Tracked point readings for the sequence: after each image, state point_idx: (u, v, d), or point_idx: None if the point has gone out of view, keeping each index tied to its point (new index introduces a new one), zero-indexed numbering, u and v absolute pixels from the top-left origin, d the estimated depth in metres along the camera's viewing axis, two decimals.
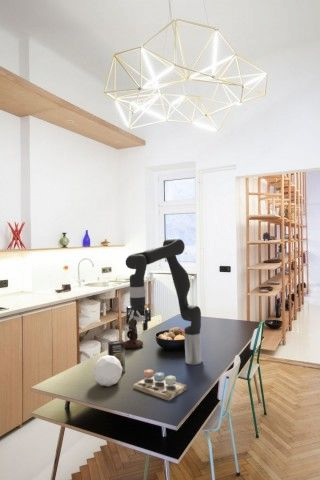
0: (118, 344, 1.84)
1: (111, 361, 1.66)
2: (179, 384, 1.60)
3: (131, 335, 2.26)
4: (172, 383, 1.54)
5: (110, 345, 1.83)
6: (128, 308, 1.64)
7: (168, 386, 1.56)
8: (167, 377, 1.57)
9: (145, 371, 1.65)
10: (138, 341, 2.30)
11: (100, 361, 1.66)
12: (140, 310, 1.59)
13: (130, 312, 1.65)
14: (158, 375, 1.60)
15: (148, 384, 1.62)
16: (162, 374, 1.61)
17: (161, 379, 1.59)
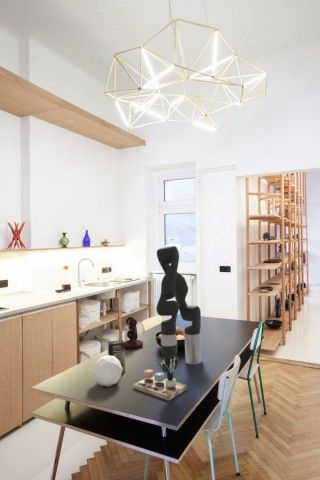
0: (118, 344, 1.84)
1: (111, 361, 1.66)
2: (179, 384, 1.60)
3: (131, 335, 2.26)
4: (172, 385, 1.54)
5: (110, 345, 1.83)
6: (164, 364, 1.52)
7: None
8: (167, 379, 1.57)
9: (145, 371, 1.65)
10: (138, 341, 2.30)
11: (100, 361, 1.66)
12: (174, 358, 1.58)
13: None
14: (158, 375, 1.60)
15: (148, 384, 1.62)
16: (162, 374, 1.61)
17: (161, 379, 1.59)
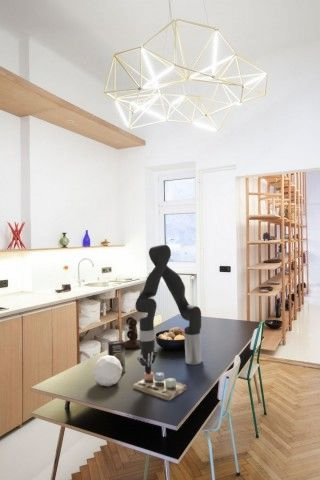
0: (118, 344, 1.84)
1: (111, 361, 1.66)
2: (179, 384, 1.60)
3: (131, 335, 2.26)
4: (172, 385, 1.54)
5: (110, 345, 1.83)
6: (141, 358, 1.61)
7: None
8: (167, 379, 1.57)
9: (145, 373, 1.65)
10: (138, 341, 2.30)
11: (100, 361, 1.66)
12: (152, 353, 1.67)
13: None
14: (158, 375, 1.60)
15: (148, 384, 1.62)
16: (162, 374, 1.61)
17: (161, 379, 1.59)
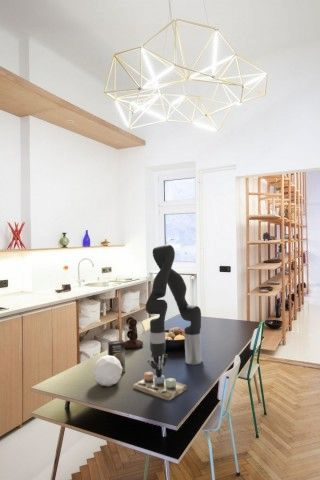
0: (118, 344, 1.84)
1: (111, 361, 1.66)
2: (179, 384, 1.60)
3: (131, 335, 2.26)
4: (172, 385, 1.54)
5: (110, 345, 1.83)
6: (152, 361, 1.57)
7: None
8: (167, 379, 1.57)
9: (145, 373, 1.65)
10: (138, 341, 2.30)
11: (100, 361, 1.66)
12: (163, 355, 1.62)
13: None
14: (158, 377, 1.60)
15: (148, 384, 1.62)
16: (162, 376, 1.61)
17: (161, 381, 1.59)
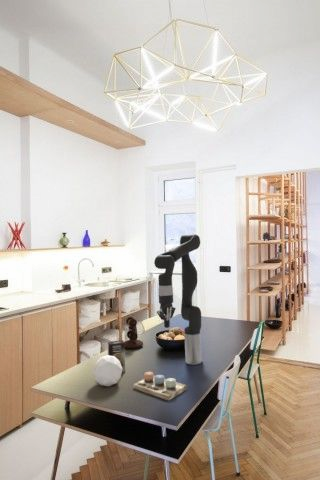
0: (118, 344, 1.84)
1: (111, 361, 1.66)
2: (179, 384, 1.60)
3: (131, 335, 2.26)
4: (172, 385, 1.54)
5: (110, 345, 1.83)
6: None
7: None
8: (167, 379, 1.57)
9: (145, 373, 1.65)
10: (138, 341, 2.30)
11: (100, 361, 1.66)
12: None
13: None
14: (158, 377, 1.60)
15: (148, 384, 1.62)
16: (162, 376, 1.61)
17: (161, 381, 1.59)
